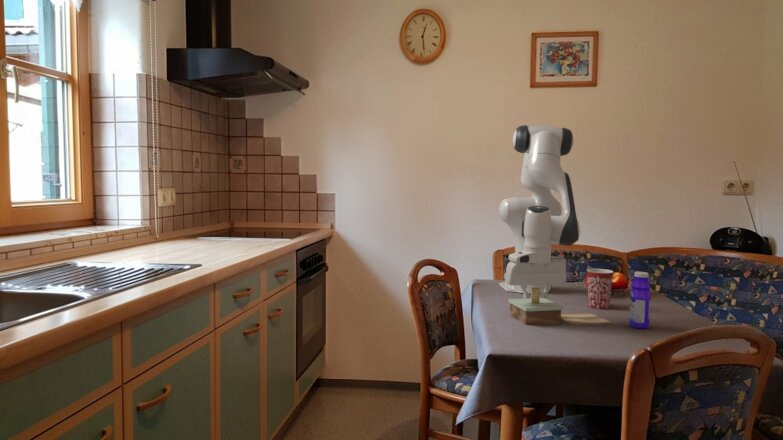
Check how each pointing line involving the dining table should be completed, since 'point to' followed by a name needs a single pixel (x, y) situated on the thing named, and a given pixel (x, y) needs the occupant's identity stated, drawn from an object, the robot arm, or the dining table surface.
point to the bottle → (640, 301)
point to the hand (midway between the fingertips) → (535, 298)
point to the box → (535, 316)
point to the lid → (535, 302)
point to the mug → (599, 288)
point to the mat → (582, 318)
